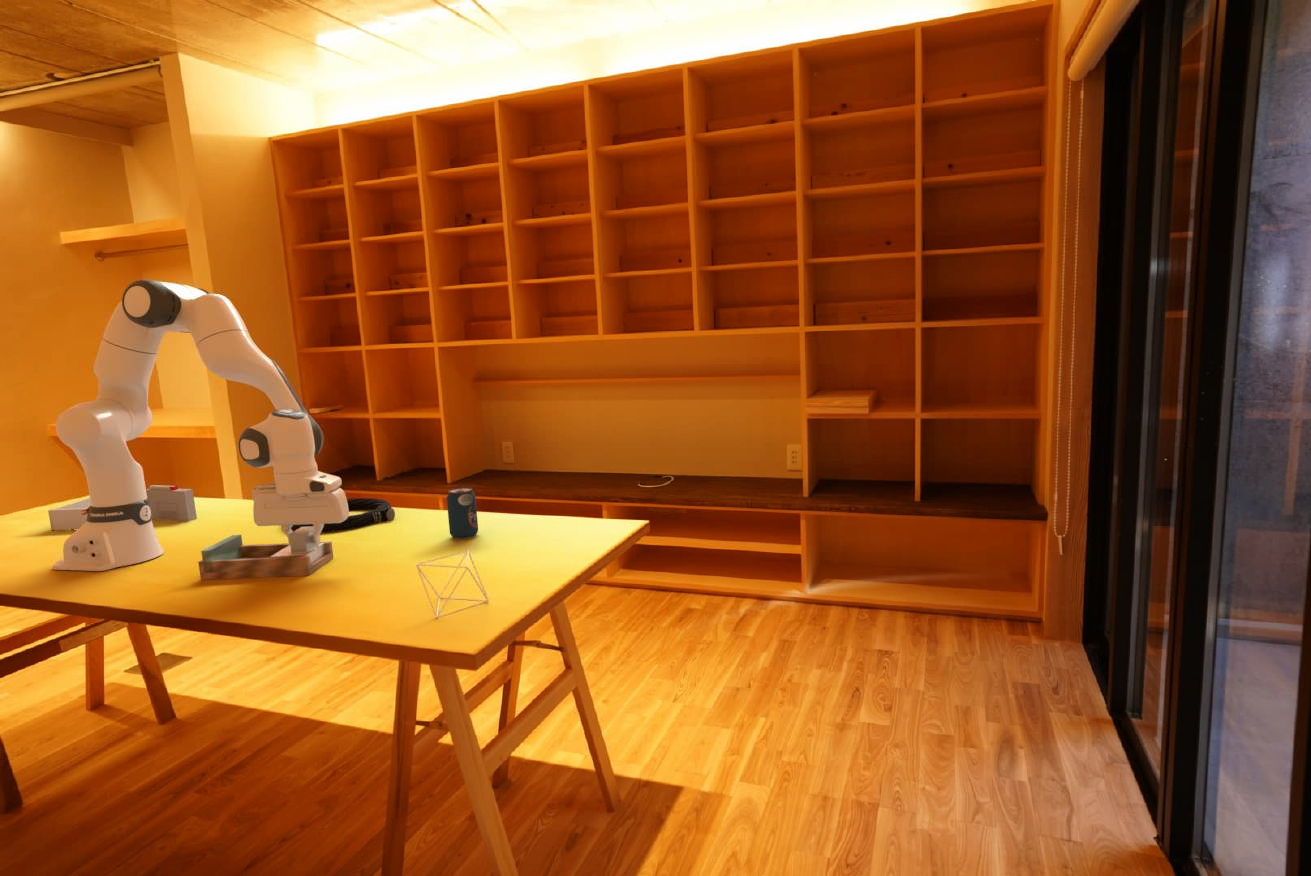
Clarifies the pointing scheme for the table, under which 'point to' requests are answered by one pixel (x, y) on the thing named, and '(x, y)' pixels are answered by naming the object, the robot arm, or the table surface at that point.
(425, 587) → the geometric polyhedron
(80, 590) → the table surface
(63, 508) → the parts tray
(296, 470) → the robot arm
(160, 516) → the cassette player
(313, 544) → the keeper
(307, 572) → the drawer
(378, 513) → the cable lock
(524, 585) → the table surface
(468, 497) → the soda can
